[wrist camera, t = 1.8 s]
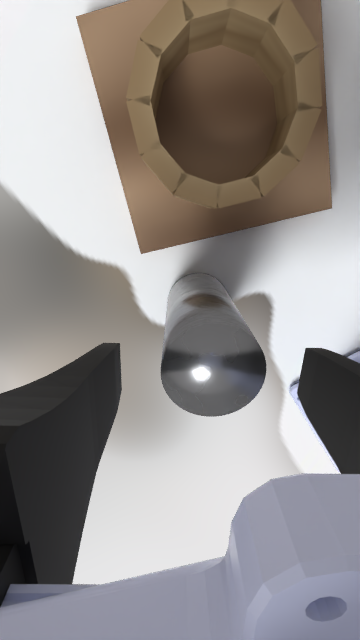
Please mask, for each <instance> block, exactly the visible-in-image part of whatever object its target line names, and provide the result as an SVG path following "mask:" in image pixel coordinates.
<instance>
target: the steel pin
mask: <svg viewBox="0 0 360 640" xmlns="http://www.w3.org/2000/svg"><path fill="white" fill-rule="evenodd" d="M163 343H164V344H163V352H162V363H161V380H162V384H163V387H164V389H165V391H166V393H167V394H168V396H169V397H170V398H171V400H172V401H173V402H174V403H176V404H177V405H178V406H179V407H181V408H182V409H184V410H186V411H188V412H190V413H193V414H196V415H201V416H222V415H226V414H230V413H233V412H235V411H237V410H239V409H241V408H242V407H244V406H246V405H247V404H248V403H250V402H251V401H252V400H253V399H254V398H255V396H256V395H257V394H258V392H259V391H260V389H261V388H262V385H263V383H264V380H265V375H266V361H265V356H264V353H263V351H262V349H261V347H260V346H259V344H258V342H257V340H256V339H255V337H254V336H253V334H252V332H251V331H250V329H249V327H248V326H247V324H246V322H245V321H244V319H243V317H242V316H241V314H240V313H239V311H238V309H237V307H236V306H235V304H234V303H233V301H232V299H231V298H230V296H229V294H228V293H227V291H226V289H225V288H224V286H223V285H222V283H221V282H220V281H219V280H217V279H216V278H214V277H213V276H210V275H208V274H203V273H194V274H189V275H187V276H184V277H182V278H181V279H180V280H178V281H177V282H176V283H175V284H174V285H173V287H172V288H171V290H170V293H169V296H168V302H167V312H166V322H165V333H164V342H163Z"/></svg>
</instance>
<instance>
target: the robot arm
mask: <svg viewBox="0 0 360 640" xmlns="http://www.w3.org/2000/svg"><path fill="white" fill-rule="evenodd" d="M121 390H122V388H121V363H120V343H103V344H101V345H99V346H97V347H95V348H94V349H92V350H91V351H89V352H88V353H86V354H84V355H83V356H81V357H79V358H78V359H76V360H75V361H73V362H71V363H70V364H68V365H66V366H64V367H62V368H60V369H59V370H57V371H55V372H53V373H51V374H49V375H47V376H45V377H43V378H41V379H38V380H36V381H34V382H31V383H29V384H27V385H24V386H21V387H19V388H16V389H13V390H10V391H7V392H4V393H1V394H0V640H360V351H358V352H356V353H354V354H352V355H350V356H348V357H345V356H342V355H340V354H337V353H335V352H332V351H329V350H326V349H323V348H306V349H305V354H304V359H303V365H302V370H301V375H300V380H299V383H297V384H295V385H293V386H292V387H291V388H290V390H289V393H290V395H291V396H292V398H293V400H294V401H295V403H296V404H297V406H298V408H299V409H300V411H301V413H302V414H303V416H304V417H305V419H306V421H307V422H308V424H309V426H310V427H311V429H312V430H313V432H314V434H315V435H316V437H317V439H318V440H319V442H320V443H321V445H322V447H323V448H324V450H325V452H326V453H327V455H328V456H329V458H330V460H331V461H332V463H333V464H334V466H335V468H336V469H337V471H338V472H340V473H341V474H304V473H302V474H297V475H291V476H286V477H280V478H275V479H271V480H269V481H268V482H266V483H265V484H263V485H262V486H260V487H259V488H257V489H256V490H254V491H253V492H251V493H250V494H248V495H247V496H246V497H244V498H243V500H242V502H241V504H240V506H239V508H238V510H237V512H236V514H235V516H234V518H233V520H232V523H231V530H230V538H229V546H228V549H227V552H226V555H225V556H224V557H220V558H215V559H211V560H206V561H202V562H198V563H194V564H189V565H185V566H181V567H176V568H172V569H167V570H163V571H158V572H154V573H150V574H145V575H141V576H137V577H132V578H128V579H123V580H120V581H115V582H110V583H106V584H102V585H87V584H86V585H83V584H81V585H80V584H79V585H78V584H72V582H73V576H74V571H75V566H76V562H77V557H78V552H79V547H80V541H81V537H82V532H83V528H84V523H85V519H86V514H87V510H88V505H89V501H90V496H91V492H92V488H93V484H94V479H95V476H96V472H97V469H98V465H99V462H100V459H101V456H102V453H103V450H104V448H105V445H106V442H107V439H108V436H109V434H110V431H111V428H112V425H113V422H114V419H115V416H116V413H117V410H118V405H119V400H120V395H121ZM298 397H299V398H298Z"/></svg>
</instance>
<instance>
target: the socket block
mask: <svg viewBox="0 0 360 640" xmlns="http://www.w3.org/2000/svg"><path fill="white" fill-rule="evenodd" d="M76 19H77V22H78V26H79V30H80V33H81V37H82V40H83V44H84V48H85V51H86V55H87V59H88V62H89V66H90V70H91V73H92V77H93V81H94V84H95V88H96V91H97V95H98V99H99V102H100V106H101V110H102V113H103V117H104V121H105V124H106V128H107V132H108V135H109V139H110V143H111V146H112V150H113V153H114V157H115V161H116V164H117V168H118V172H119V175H120V179H121V183H122V186H123V190H124V194H125V197H126V201H127V204H128V208H129V212H130V215H131V219H132V223H133V226H134V230H135V234H136V237H137V241H138V245H139V248H140V252H141V254H143V253H147V252H151V251H156V250H160V249H164V248H168V247H172V246H176V245H181V244H185V243H189V242H193V241H197V240H201V239H206V238H210V237H214V236H218V235H222V234H226V233H231V232H235V231H239V230H243V229H247V228H251V227H256V226H260V225H264V224H268V223H272V222H276V221H281V220H285V219H289V218H293V217H297V216H301V215H306V214H310V213H314V212H318V211H322V210H326V209H331V208H332V200H331V182H330V163H329V144H328V126H327V107H326V88H325V70H324V51H323V32H322V14H321V0H129V1H126V2H123V3H119V4H116V5H113V6H109V7H106V8H103V9H100V10H96V11H93V12H90V13H86V14H83V15H80V16H76Z"/></svg>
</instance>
